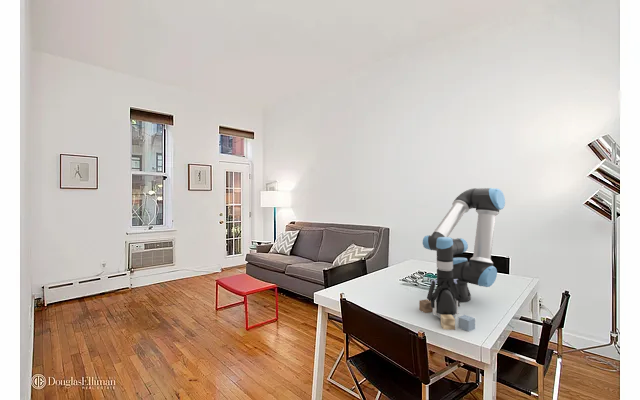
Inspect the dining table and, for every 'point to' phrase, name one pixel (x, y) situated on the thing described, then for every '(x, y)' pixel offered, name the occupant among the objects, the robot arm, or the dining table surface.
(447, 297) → the black rounded cone
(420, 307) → the walnut cube
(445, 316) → the maple cube
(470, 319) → the slate cube
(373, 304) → the dining table surface
